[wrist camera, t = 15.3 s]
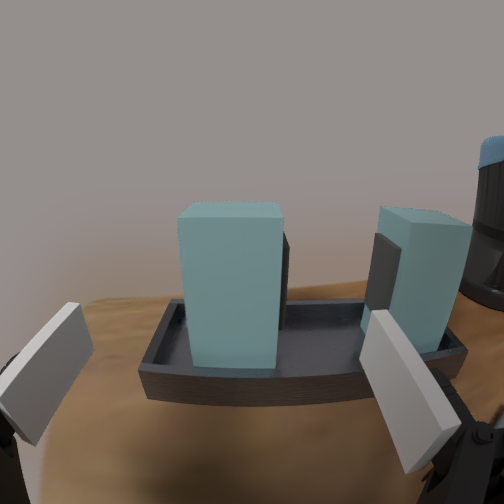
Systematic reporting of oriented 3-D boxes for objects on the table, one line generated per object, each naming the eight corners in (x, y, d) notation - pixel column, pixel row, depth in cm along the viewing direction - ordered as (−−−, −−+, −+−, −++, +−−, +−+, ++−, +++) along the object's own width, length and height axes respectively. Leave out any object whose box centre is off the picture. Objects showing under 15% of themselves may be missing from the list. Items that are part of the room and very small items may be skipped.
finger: (277, 329, 24) (283, 202, 20) (282, 368, 20) (292, 217, 16) (203, 328, 24) (194, 202, 20) (193, 366, 20) (177, 217, 16)
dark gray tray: (410, 319, 27) (417, 295, 26) (455, 377, 18) (468, 350, 17) (175, 324, 27) (171, 298, 26) (147, 398, 18) (137, 370, 17)
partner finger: (413, 320, 24) (437, 210, 21) (436, 350, 20) (473, 226, 16) (355, 326, 24) (374, 205, 21) (373, 361, 20) (405, 221, 16)
